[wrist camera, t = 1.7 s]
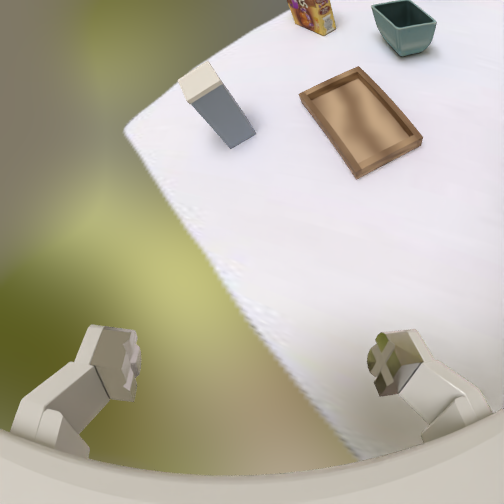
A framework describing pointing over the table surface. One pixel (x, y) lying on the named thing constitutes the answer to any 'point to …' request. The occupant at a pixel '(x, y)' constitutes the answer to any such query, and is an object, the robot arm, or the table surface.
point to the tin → (216, 104)
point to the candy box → (313, 15)
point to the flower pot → (404, 26)
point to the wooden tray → (360, 121)
